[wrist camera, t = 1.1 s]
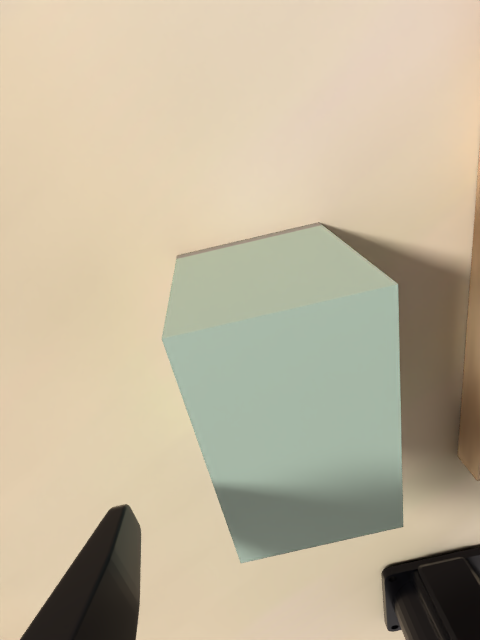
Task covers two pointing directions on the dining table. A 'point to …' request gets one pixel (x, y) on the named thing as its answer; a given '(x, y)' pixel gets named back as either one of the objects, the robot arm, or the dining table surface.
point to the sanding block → (291, 387)
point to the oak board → (472, 361)
